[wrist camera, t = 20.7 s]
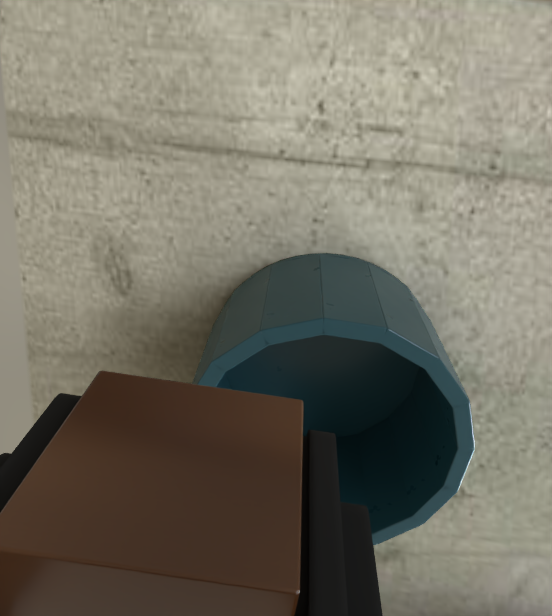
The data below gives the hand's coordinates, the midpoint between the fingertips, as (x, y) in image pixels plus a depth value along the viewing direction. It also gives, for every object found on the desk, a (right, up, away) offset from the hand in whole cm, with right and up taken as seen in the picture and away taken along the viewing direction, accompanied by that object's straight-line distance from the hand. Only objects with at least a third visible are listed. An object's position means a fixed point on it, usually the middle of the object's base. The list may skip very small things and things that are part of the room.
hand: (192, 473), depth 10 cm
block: (0, 0, 0) cm, 0 cm away
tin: (+5, 0, +21) cm, 21 cm away
